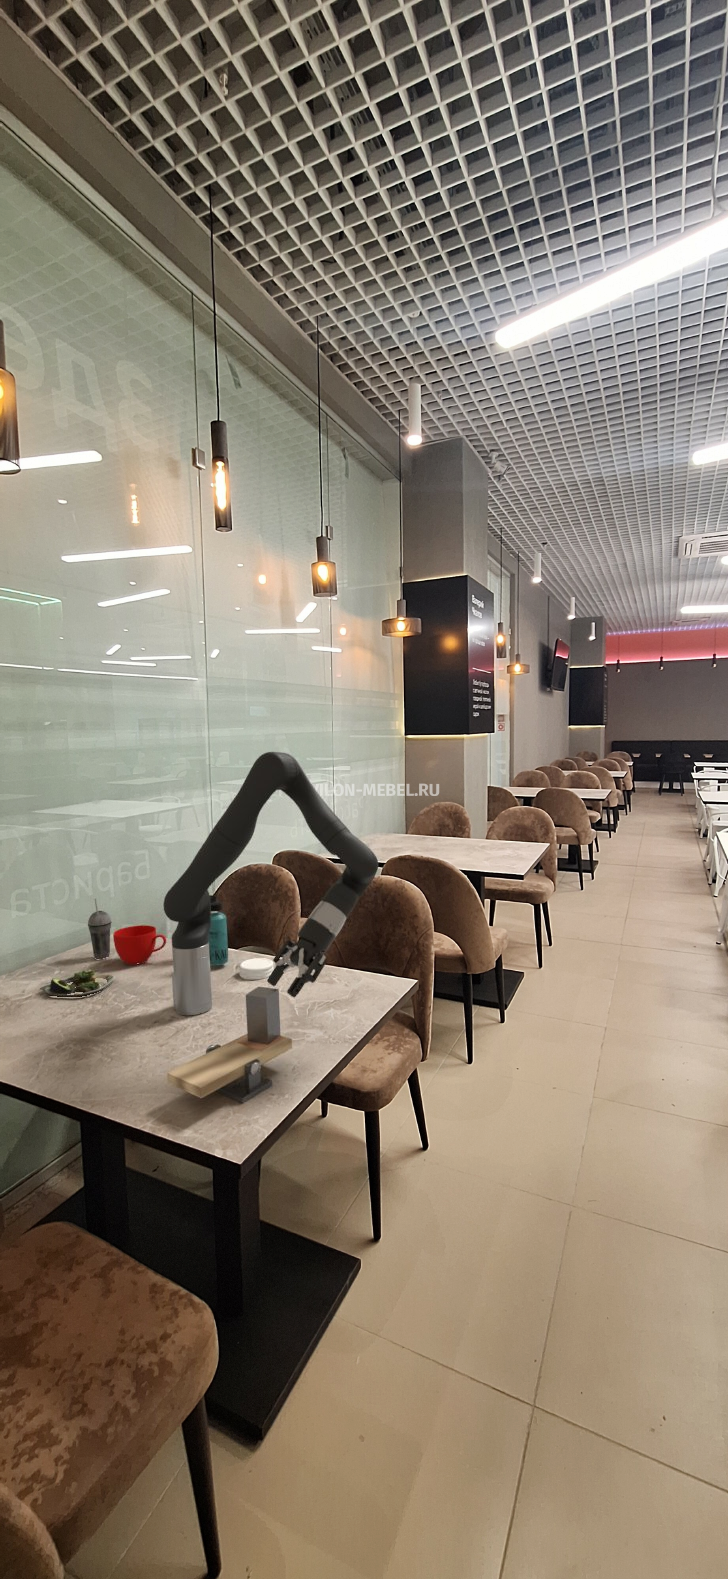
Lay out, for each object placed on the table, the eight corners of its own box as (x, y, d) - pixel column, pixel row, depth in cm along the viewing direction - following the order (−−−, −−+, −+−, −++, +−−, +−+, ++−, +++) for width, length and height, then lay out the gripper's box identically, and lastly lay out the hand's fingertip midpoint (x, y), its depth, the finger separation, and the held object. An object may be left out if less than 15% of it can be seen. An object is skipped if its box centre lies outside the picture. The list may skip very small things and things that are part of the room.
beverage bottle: (209, 963, 209) (205, 901, 207) (230, 962, 209) (227, 899, 208) (205, 971, 202) (202, 906, 201) (228, 969, 203) (224, 905, 201)
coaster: (273, 967, 204) (272, 956, 204) (274, 978, 194) (274, 967, 194) (240, 970, 202) (239, 959, 202) (239, 982, 192) (239, 970, 192)
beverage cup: (118, 955, 220) (114, 895, 219) (103, 962, 214) (99, 901, 212) (100, 953, 223) (96, 894, 221) (85, 960, 216) (80, 900, 214)
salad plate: (75, 974, 204) (74, 959, 204) (128, 976, 201) (127, 961, 200) (32, 998, 186) (30, 982, 185) (89, 1001, 182) (88, 985, 182)
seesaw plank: (167, 1082, 128) (167, 1071, 128) (259, 1036, 147) (258, 1027, 147) (201, 1098, 122) (200, 1086, 122) (292, 1048, 141) (291, 1038, 141)
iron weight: (247, 1041, 140) (245, 994, 139) (260, 1031, 145) (258, 986, 144) (268, 1044, 138) (266, 997, 137) (280, 1034, 143) (278, 989, 142)
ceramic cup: (157, 969, 205) (155, 937, 204) (107, 968, 208) (104, 936, 207) (176, 955, 218) (174, 925, 217) (128, 954, 221) (126, 925, 220)
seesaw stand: (195, 1082, 136) (194, 1053, 135) (226, 1066, 142) (224, 1038, 142) (242, 1103, 127) (241, 1072, 127) (272, 1085, 134) (271, 1055, 133)
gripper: (295, 911, 153) (252, 971, 147) (330, 923, 141) (285, 990, 135) (315, 929, 156) (275, 989, 150) (351, 942, 145) (309, 1008, 139)
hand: (280, 989), depth 143 cm, fingers open, 8 cm apart
